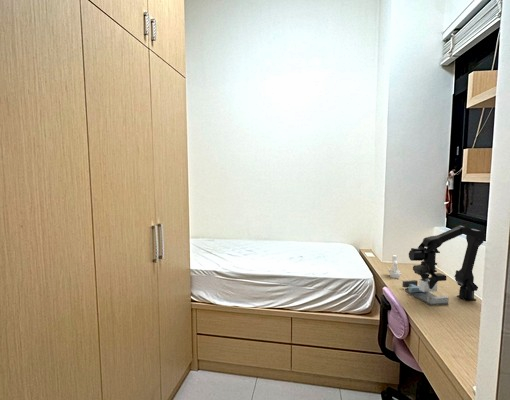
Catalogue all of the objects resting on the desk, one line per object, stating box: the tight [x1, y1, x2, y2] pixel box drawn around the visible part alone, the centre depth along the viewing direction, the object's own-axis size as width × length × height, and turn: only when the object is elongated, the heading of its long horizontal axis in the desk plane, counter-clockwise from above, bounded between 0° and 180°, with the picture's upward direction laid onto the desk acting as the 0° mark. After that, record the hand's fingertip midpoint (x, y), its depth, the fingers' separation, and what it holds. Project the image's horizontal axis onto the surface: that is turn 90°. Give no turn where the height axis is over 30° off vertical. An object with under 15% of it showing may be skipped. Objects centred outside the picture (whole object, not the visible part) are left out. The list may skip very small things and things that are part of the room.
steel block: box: [418, 278, 438, 293], centre depth 161 cm, size 8×4×6 cm, turn 100°
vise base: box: [405, 288, 450, 307], centre depth 163 cm, size 11×20×4 cm, turn 9°
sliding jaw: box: [402, 279, 423, 293], centre depth 172 cm, size 11×9×4 cm
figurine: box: [387, 254, 402, 279], centre depth 195 cm, size 7×9×15 cm
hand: (428, 287), depth 161 cm, fingers closed on steel block, 4 cm apart
